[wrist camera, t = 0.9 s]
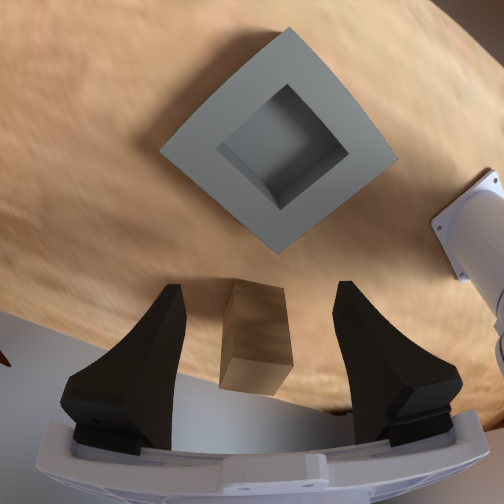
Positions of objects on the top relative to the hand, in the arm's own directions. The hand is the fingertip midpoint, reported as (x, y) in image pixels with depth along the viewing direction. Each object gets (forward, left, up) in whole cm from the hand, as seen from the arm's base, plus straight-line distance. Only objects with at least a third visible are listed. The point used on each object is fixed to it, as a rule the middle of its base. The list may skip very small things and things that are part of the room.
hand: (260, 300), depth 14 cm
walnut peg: (-6, +7, -10) cm, 13 cm away
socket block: (+3, -4, -10) cm, 11 cm away
